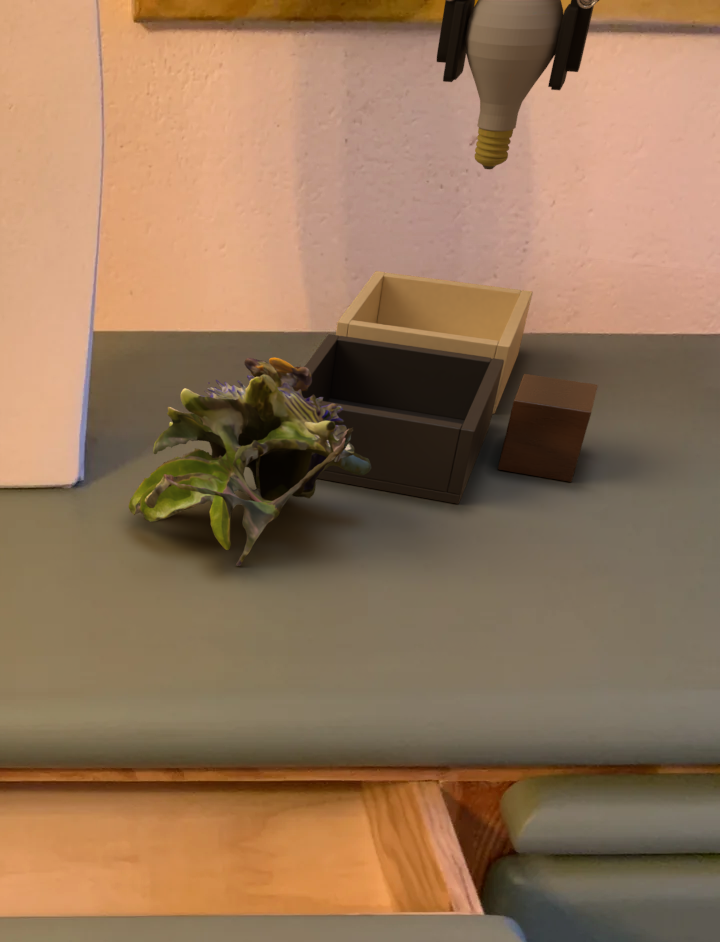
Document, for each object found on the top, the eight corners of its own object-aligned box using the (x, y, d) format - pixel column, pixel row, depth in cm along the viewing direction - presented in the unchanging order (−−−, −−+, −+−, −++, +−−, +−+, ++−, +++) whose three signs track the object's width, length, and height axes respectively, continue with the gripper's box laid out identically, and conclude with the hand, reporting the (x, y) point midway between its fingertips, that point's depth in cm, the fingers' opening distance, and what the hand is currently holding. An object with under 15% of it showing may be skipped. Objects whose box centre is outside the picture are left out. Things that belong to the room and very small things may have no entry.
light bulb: (437, 175, 71) (469, -22, 64) (451, 154, 75) (482, -34, 68) (528, 183, 70) (570, -19, 63) (537, 161, 73) (577, -31, 67)
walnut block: (578, 452, 74) (598, 384, 71) (571, 482, 71) (591, 412, 68) (507, 441, 75) (524, 373, 72) (497, 469, 72) (513, 400, 69)
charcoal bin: (489, 428, 77) (504, 359, 74) (458, 504, 69) (474, 431, 66) (320, 400, 80) (328, 333, 77) (272, 470, 72) (279, 399, 69)
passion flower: (258, 581, 73) (392, 429, 67) (250, 650, 63) (405, 481, 57) (116, 468, 70) (243, 300, 64) (86, 523, 61) (231, 333, 55)
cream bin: (518, 354, 87) (533, 291, 83) (494, 414, 79) (510, 346, 75) (366, 332, 90) (375, 270, 87) (328, 387, 82) (337, 321, 79)
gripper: (772, -343, 57) (657, 81, 69) (426, -335, 62) (375, 60, 74) (775, -354, 52) (651, 106, 64) (397, -344, 57) (348, 83, 69)
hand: (504, 78), depth 69 cm, fingers closed on light bulb, 5 cm apart
